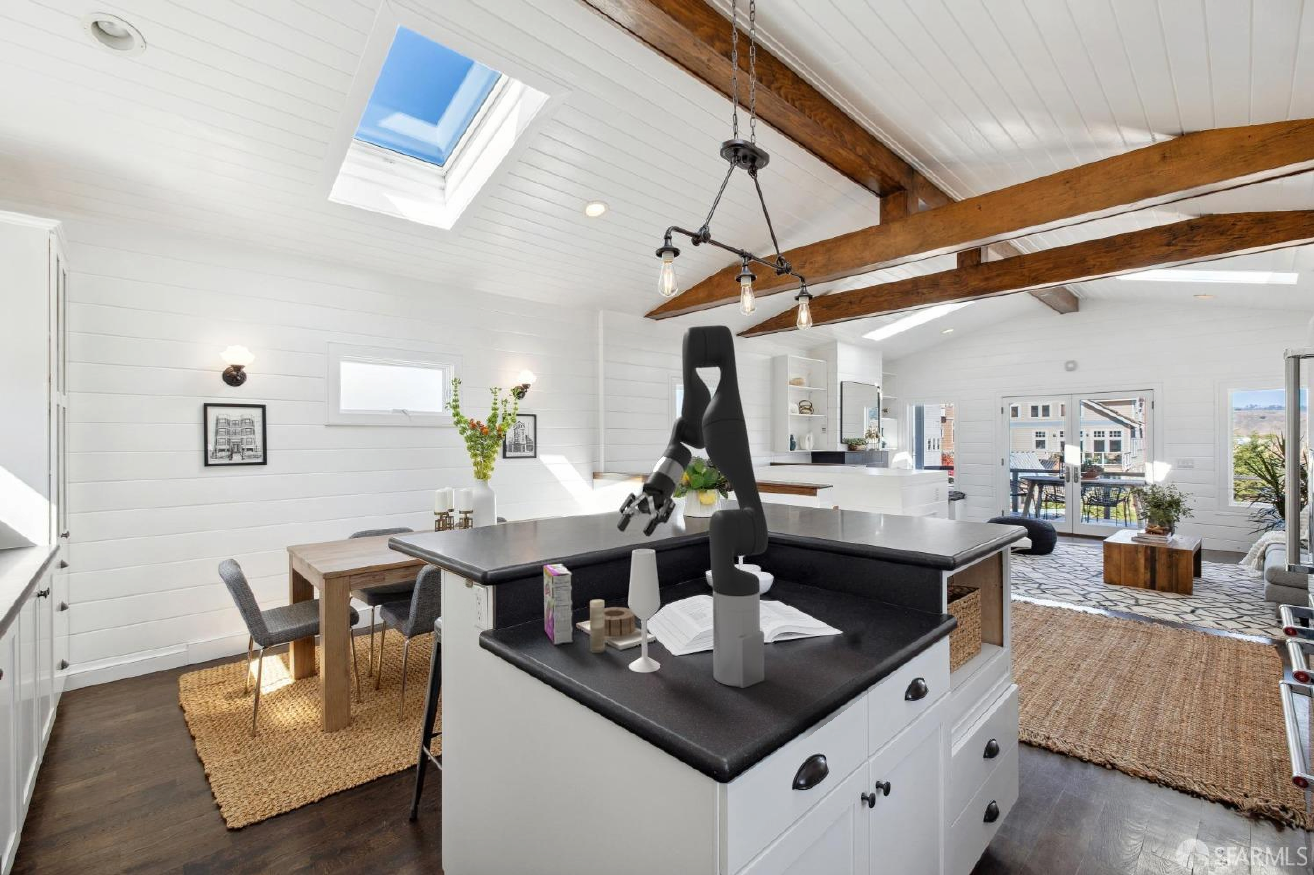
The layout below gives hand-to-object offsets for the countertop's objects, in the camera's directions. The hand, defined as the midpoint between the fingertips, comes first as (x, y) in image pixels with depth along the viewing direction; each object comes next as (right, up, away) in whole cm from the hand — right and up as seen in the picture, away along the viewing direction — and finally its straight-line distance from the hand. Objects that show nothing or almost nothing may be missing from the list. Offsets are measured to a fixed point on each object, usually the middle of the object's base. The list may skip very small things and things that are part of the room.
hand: (632, 532), depth 139 cm
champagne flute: (+3, -25, -17) cm, 31 cm away
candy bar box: (-18, -26, +1) cm, 31 cm away
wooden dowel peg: (-8, -25, -8) cm, 28 cm away
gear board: (-5, -25, +3) cm, 26 cm away
